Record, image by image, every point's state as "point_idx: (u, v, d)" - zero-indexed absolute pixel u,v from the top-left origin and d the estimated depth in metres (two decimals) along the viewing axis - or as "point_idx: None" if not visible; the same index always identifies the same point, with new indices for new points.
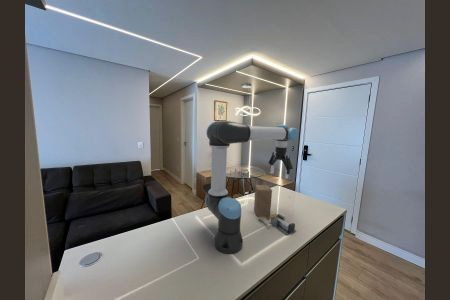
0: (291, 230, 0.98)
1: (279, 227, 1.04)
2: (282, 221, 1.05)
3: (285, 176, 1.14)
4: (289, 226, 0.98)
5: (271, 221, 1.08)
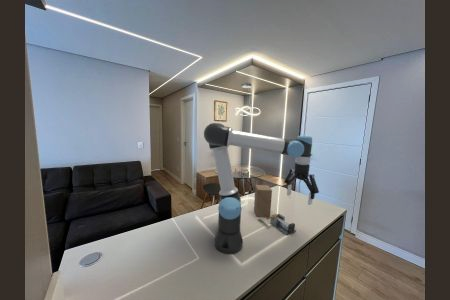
0: (291, 230, 0.98)
1: (279, 227, 1.04)
2: (282, 221, 1.05)
3: (309, 201, 0.89)
4: (289, 226, 0.98)
5: (271, 221, 1.08)
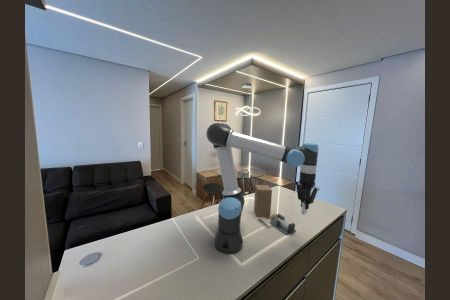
0: (291, 230, 0.98)
1: (279, 227, 1.04)
2: (282, 221, 1.05)
3: (303, 211, 0.90)
4: (289, 226, 0.98)
5: (271, 221, 1.08)
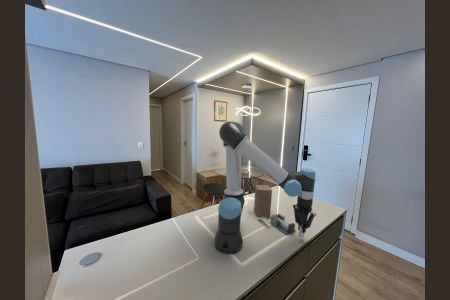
0: (291, 230, 0.98)
1: (279, 227, 1.04)
2: (282, 221, 1.05)
3: (300, 235, 0.92)
4: (289, 226, 0.98)
5: (271, 221, 1.08)
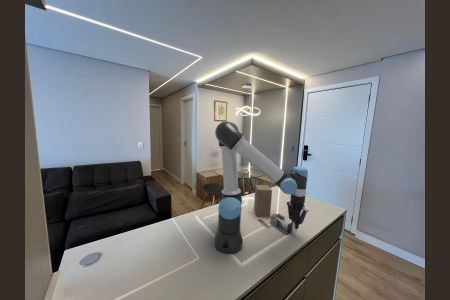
0: (290, 230, 0.98)
1: (279, 227, 1.04)
2: (281, 221, 1.05)
3: (293, 231, 0.96)
4: (288, 226, 0.98)
5: (271, 221, 1.08)
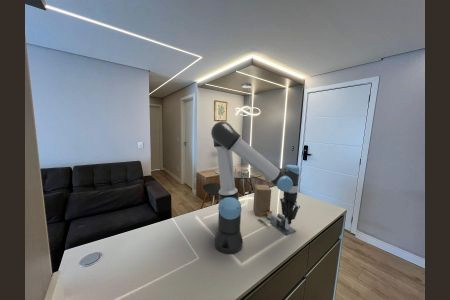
0: (283, 225, 1.03)
1: (279, 227, 1.04)
2: None
3: (286, 226, 1.00)
4: (282, 221, 1.03)
5: (271, 221, 1.08)
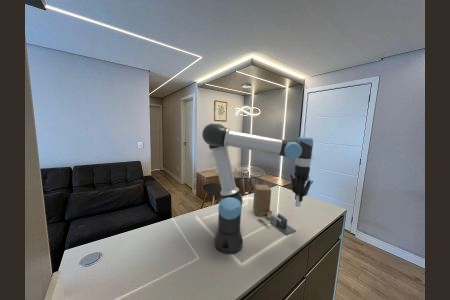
0: (283, 225, 1.03)
1: (279, 227, 1.04)
2: None
3: (297, 204, 0.93)
4: (281, 221, 1.03)
5: (271, 221, 1.08)
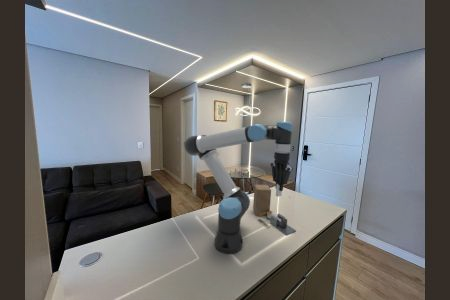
0: (283, 225, 1.03)
1: (279, 227, 1.04)
2: None
3: (277, 193, 0.87)
4: (281, 221, 1.03)
5: (271, 221, 1.08)
